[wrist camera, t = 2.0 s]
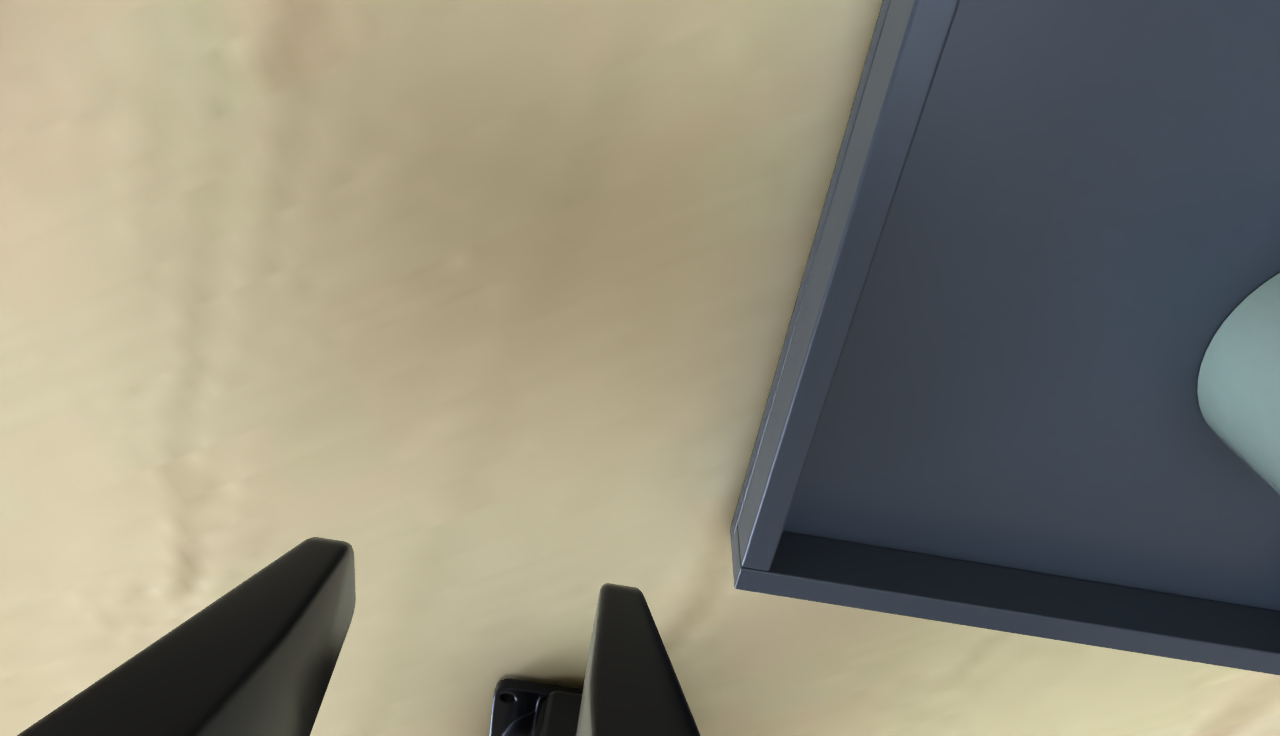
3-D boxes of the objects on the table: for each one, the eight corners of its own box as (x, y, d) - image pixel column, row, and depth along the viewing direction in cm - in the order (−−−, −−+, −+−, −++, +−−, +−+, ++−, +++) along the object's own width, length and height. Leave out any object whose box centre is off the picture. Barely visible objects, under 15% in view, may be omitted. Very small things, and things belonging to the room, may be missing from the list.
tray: (1293, 620, 23) (1352, 687, 21) (729, 529, 23) (734, 589, 21) (1821, -10, 15) (2008, -2, 13) (934, -182, 14) (977, -202, 12)
